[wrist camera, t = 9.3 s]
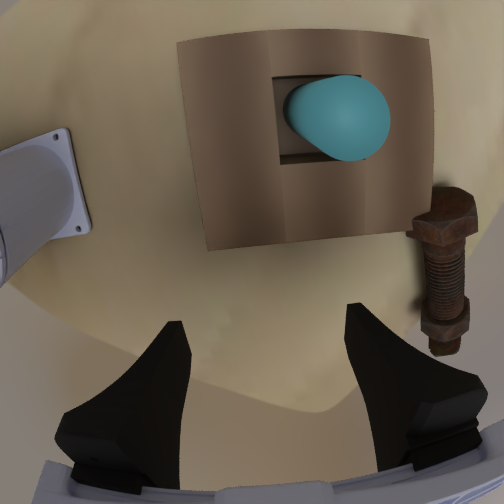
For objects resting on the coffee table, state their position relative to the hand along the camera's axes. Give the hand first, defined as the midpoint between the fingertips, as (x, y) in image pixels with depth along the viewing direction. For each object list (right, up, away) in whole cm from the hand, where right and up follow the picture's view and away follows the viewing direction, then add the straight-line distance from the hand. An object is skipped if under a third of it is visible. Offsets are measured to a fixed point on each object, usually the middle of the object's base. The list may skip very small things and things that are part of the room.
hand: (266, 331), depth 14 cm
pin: (+3, +12, +4) cm, 13 cm away
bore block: (+3, +11, +5) cm, 13 cm away
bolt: (+14, +2, +10) cm, 18 cm away
